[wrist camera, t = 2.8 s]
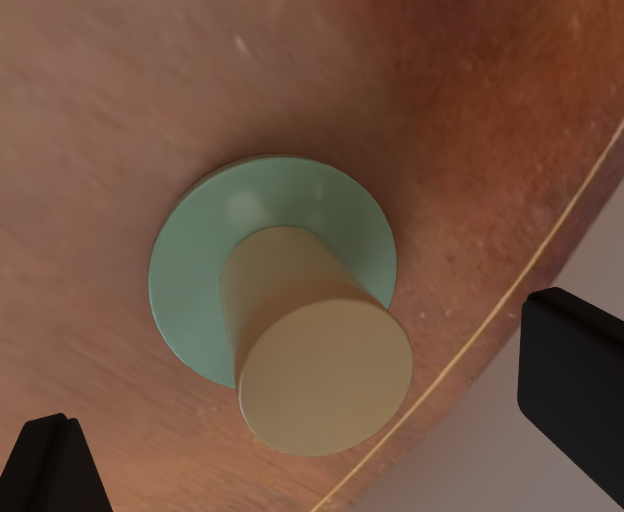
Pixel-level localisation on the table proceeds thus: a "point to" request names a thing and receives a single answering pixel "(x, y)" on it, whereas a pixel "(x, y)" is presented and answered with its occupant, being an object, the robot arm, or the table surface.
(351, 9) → the table surface
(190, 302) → the cylinder on green disc
